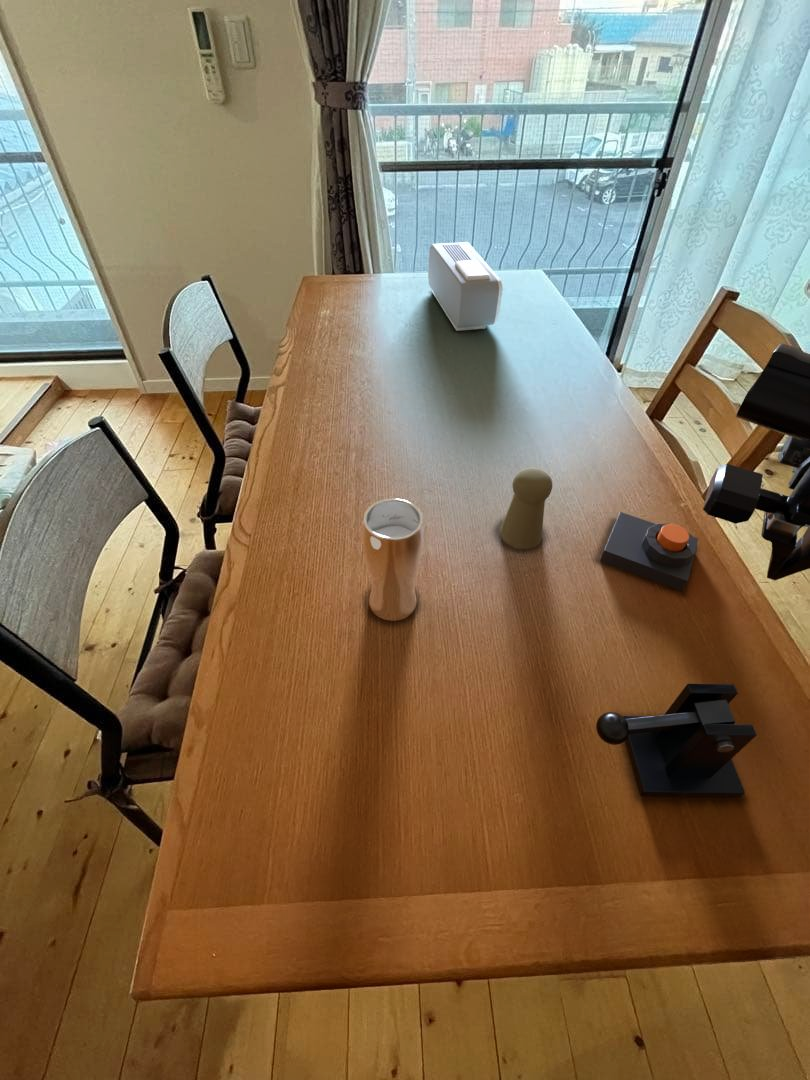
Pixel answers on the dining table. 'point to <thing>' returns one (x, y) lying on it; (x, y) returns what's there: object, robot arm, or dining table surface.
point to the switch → (663, 721)
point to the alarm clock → (464, 285)
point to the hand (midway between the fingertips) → (770, 576)
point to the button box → (648, 552)
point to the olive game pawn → (526, 509)
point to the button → (673, 537)
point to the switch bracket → (690, 751)
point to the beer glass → (393, 556)
